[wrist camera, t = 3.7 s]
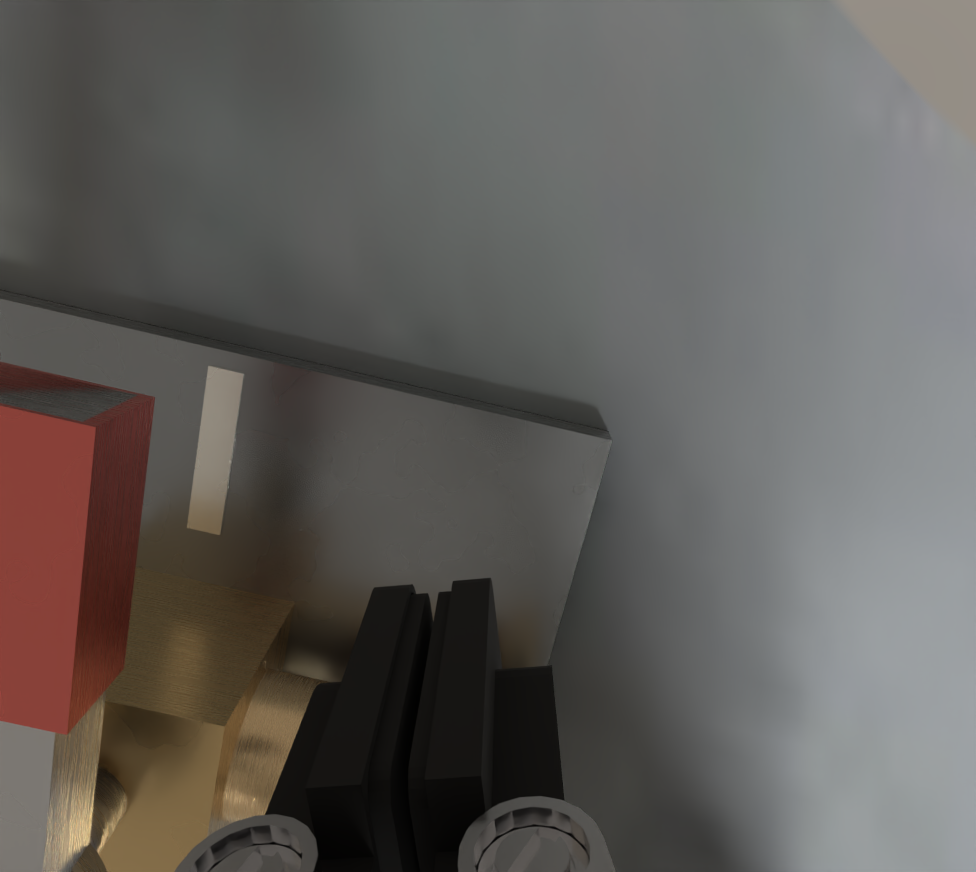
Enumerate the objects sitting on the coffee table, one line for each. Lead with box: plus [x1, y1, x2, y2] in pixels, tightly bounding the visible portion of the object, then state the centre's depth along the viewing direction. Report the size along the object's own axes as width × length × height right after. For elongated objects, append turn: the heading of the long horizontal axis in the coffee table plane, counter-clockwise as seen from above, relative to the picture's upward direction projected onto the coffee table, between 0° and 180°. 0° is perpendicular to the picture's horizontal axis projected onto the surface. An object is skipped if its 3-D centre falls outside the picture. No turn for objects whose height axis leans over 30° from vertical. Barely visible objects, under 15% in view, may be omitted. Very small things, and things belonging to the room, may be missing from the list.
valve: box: [0, 290, 612, 872], centre depth 20 cm, size 20×14×9 cm
